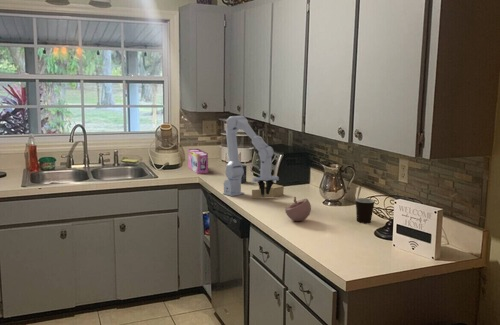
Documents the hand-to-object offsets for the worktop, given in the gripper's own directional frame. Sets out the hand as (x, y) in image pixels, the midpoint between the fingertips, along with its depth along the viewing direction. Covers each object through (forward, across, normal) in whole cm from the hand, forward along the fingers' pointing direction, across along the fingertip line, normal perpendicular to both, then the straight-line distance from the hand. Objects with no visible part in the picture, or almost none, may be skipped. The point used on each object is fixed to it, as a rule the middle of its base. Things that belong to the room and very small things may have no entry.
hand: (265, 194), depth 265 cm
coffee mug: (+3, +30, -49) cm, 58 cm away
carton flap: (+3, 0, +2) cm, 4 cm away
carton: (+3, +8, +11) cm, 14 cm away
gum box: (+4, -13, +89) cm, 90 cm away
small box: (+4, +1, +47) cm, 47 cm away
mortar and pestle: (+3, 0, -39) cm, 39 cm away
